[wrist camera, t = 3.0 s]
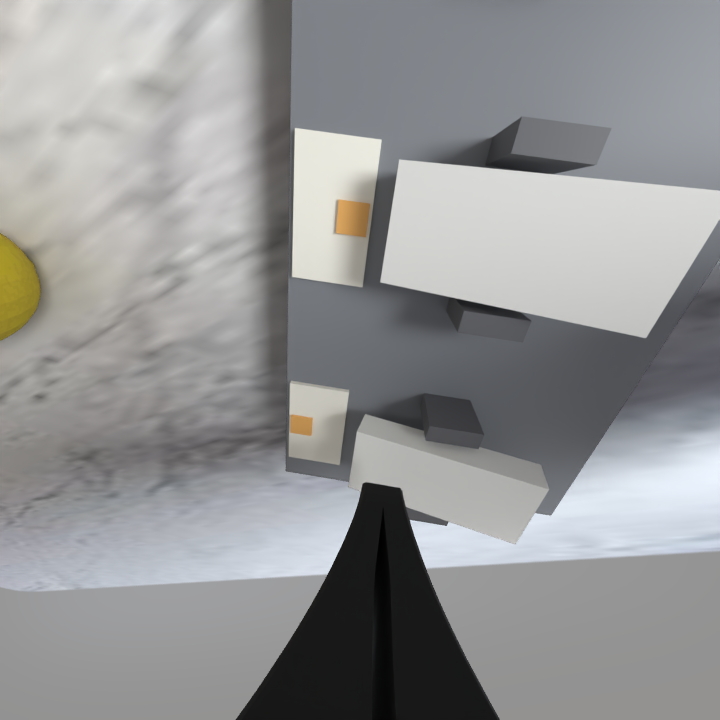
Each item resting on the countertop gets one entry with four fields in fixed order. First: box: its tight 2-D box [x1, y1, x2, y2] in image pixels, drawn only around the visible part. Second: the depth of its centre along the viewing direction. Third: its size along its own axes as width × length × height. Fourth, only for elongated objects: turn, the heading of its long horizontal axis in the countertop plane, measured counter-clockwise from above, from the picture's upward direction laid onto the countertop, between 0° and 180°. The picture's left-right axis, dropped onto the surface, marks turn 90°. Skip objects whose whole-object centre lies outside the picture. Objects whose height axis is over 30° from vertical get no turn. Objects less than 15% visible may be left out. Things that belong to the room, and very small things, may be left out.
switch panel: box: [286, 0, 720, 526], centre depth 10 cm, size 14×25×4 cm, turn 173°
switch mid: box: [380, 159, 720, 338], centre depth 8 cm, size 7×3×1 cm, turn 82°
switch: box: [348, 414, 549, 544], centre depth 12 cm, size 7×3×1 cm, turn 82°
